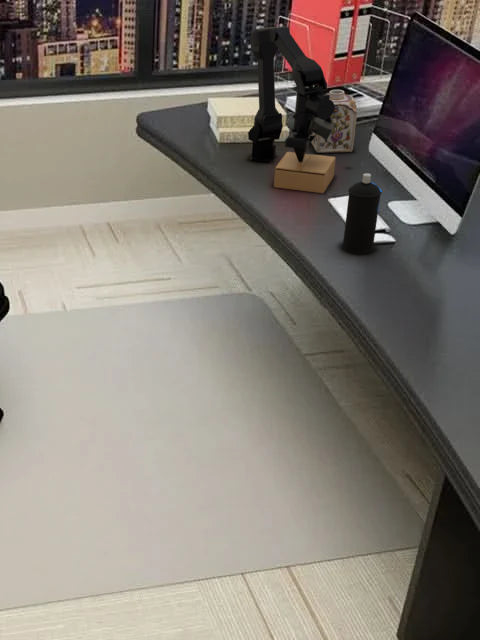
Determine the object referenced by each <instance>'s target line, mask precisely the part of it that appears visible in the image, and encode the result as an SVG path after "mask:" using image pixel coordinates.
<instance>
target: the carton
mask: <svg viewBox="0 0 480 640" xmlns="http://www.w3.org/2000/svg"><path fill="white" fill-rule="evenodd" d="M335 168H336V156H331V155H320V154H311V156H310V157H309V159H308V160H307V162H306V163H305V164H304V166H303V167H302V169H301V170H300V171H301V172H305V173H301V172H293V171H289V170H284V169H276V168H275V169H274V181H273V188H277V189H285V190H293V191H294V190H295V191H301V192H308V193H309V192H311V193H317V194H318V193H319V194H324V193H325V191H326V190H327V188H328V187H329V185H330V183H331V182H332V180H333V178H334V176H335V170H336V169H335Z"/></svg>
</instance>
